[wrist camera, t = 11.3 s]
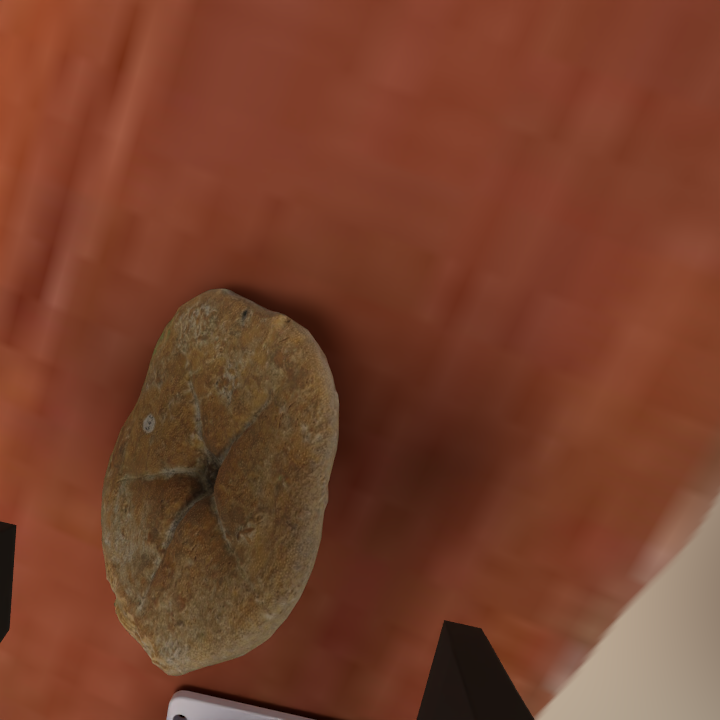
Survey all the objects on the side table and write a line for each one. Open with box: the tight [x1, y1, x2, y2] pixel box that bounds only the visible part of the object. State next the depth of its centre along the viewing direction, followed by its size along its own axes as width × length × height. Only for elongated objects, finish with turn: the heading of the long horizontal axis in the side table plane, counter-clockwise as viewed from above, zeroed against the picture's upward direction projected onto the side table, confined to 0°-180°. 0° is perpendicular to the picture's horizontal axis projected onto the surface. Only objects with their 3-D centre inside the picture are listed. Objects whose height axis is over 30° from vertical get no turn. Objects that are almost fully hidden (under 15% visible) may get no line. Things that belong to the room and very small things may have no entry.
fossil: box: [101, 289, 339, 676], centre depth 19 cm, size 9×4×10 cm
